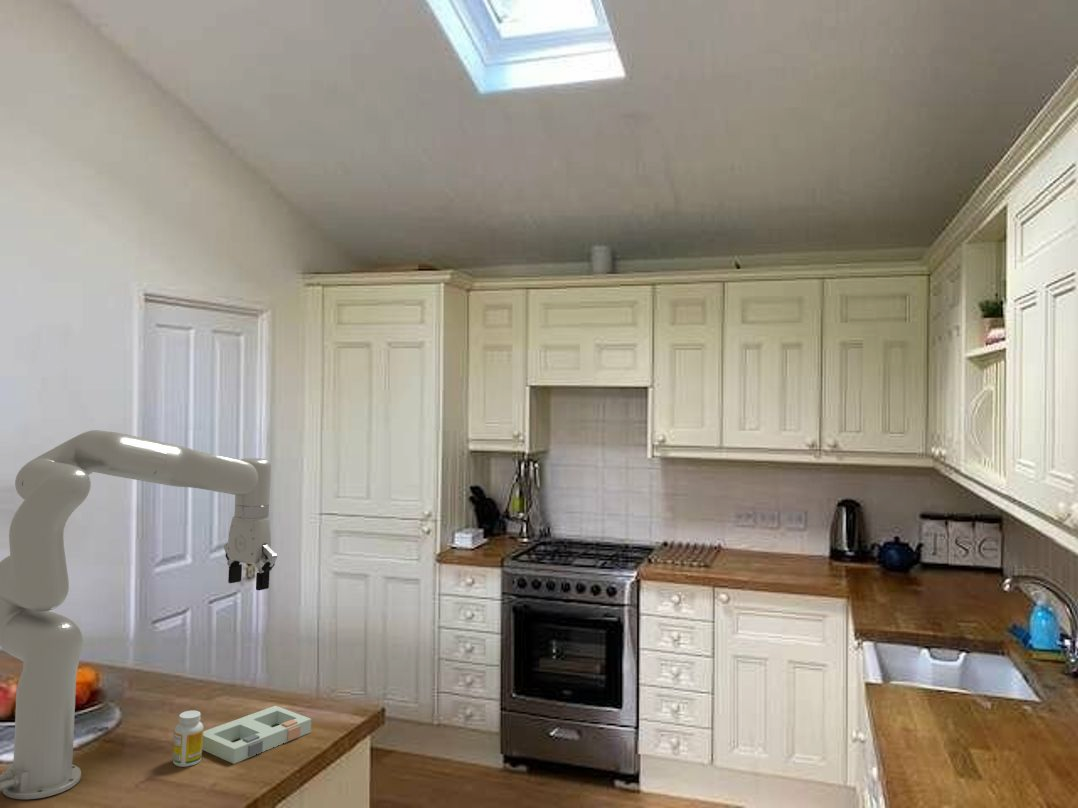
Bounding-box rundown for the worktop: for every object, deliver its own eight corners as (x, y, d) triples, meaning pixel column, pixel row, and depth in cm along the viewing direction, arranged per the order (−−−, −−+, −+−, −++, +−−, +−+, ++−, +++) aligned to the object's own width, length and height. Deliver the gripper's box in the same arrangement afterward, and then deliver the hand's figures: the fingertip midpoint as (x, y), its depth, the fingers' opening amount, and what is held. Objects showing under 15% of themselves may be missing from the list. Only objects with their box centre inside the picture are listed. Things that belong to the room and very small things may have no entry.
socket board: (235, 764, 164) (235, 747, 164) (197, 747, 171) (198, 731, 171) (311, 732, 181) (312, 717, 181) (274, 718, 188) (275, 703, 188)
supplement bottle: (168, 767, 161) (171, 719, 161) (178, 755, 167) (180, 708, 167) (196, 767, 162) (199, 719, 162) (205, 755, 167) (207, 709, 167)
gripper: (214, 509, 190) (210, 582, 190) (263, 518, 180) (259, 595, 181) (241, 506, 196) (237, 577, 196) (290, 514, 187) (286, 589, 187)
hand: (248, 585), depth 188 cm, fingers open, 9 cm apart
